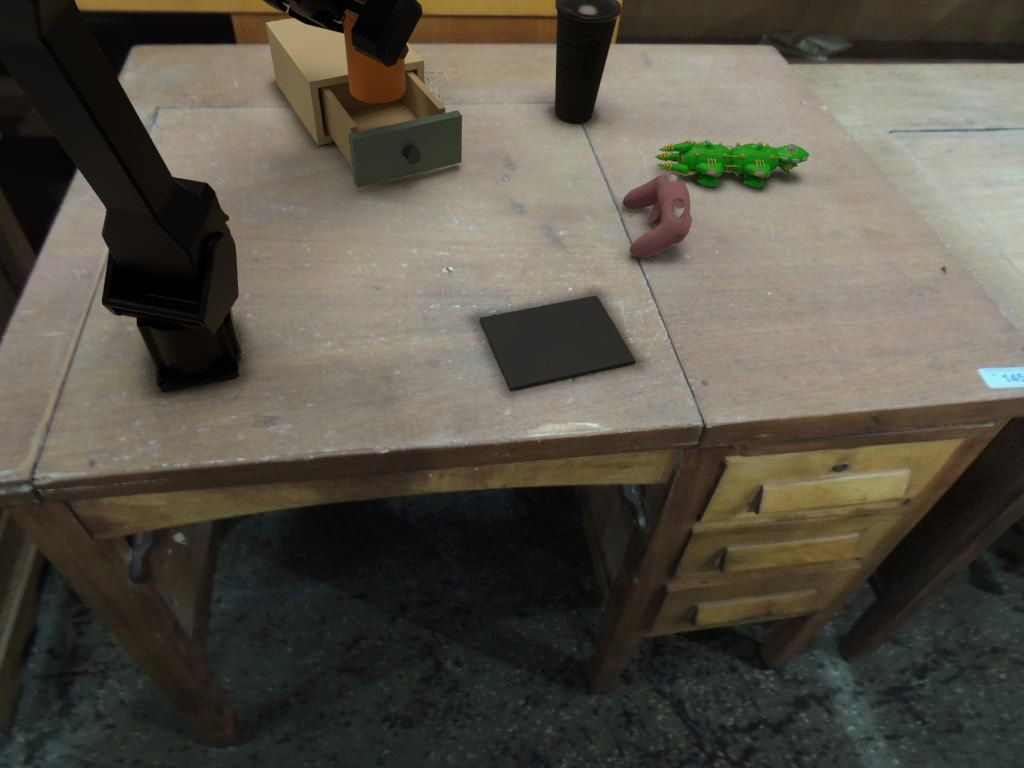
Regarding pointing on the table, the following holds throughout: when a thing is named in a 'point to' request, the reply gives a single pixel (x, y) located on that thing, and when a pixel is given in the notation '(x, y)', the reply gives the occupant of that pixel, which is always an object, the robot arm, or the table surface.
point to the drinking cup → (581, 54)
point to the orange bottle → (371, 73)
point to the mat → (555, 342)
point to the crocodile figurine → (731, 160)
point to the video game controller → (661, 213)
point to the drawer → (392, 132)
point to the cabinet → (314, 67)
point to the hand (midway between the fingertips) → (385, 43)
